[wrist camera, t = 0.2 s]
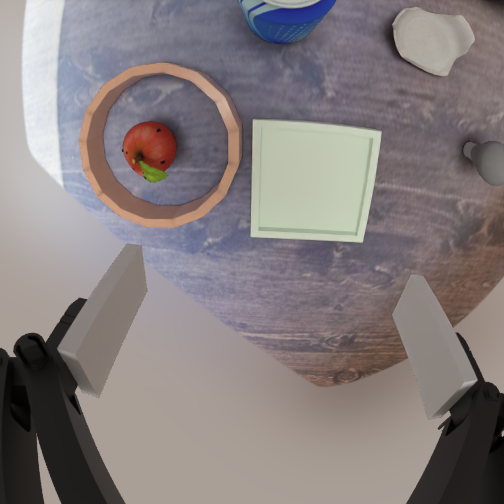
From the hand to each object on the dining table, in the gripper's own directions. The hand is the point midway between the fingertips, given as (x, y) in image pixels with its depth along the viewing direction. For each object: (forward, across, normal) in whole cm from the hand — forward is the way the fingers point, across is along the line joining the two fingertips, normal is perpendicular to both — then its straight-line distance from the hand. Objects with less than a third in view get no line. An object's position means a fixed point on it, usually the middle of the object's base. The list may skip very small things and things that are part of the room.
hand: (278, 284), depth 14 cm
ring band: (+27, -15, 0) cm, 31 cm away
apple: (+28, -15, 0) cm, 31 cm away
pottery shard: (+28, +18, +20) cm, 38 cm away
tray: (+27, +6, -3) cm, 28 cm away
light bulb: (+28, +29, +7) cm, 41 cm away
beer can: (+27, -1, +18) cm, 33 cm away
